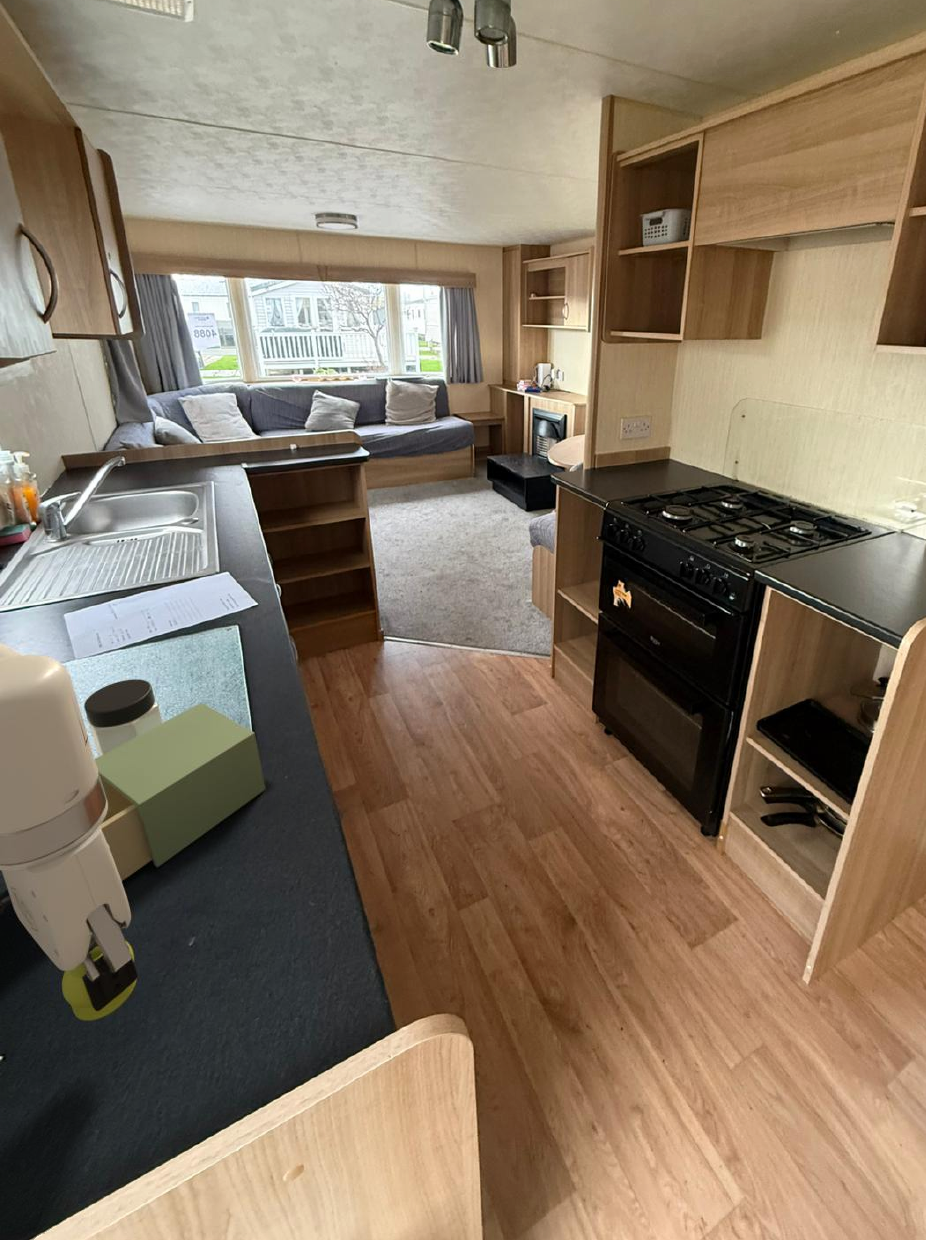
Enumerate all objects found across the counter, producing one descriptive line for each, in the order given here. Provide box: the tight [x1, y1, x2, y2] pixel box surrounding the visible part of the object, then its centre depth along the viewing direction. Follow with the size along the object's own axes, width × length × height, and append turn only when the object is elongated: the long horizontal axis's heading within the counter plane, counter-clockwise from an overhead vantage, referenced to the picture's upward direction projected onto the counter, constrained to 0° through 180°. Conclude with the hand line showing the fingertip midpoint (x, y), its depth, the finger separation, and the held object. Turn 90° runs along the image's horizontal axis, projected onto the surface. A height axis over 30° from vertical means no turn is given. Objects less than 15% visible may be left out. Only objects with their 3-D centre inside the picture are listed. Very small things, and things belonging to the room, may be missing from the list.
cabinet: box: [94, 702, 266, 868], centre depth 76 cm, size 15×13×11 cm
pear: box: [61, 940, 138, 1022], centre depth 49 cm, size 5×5×8 cm
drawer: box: [0, 777, 153, 916], centre depth 66 cm, size 18×11×9 cm, turn 148°
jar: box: [83, 678, 164, 757], centre depth 84 cm, size 9×8×12 cm
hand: (99, 972), depth 50 cm, fingers closed on pear, 5 cm apart
